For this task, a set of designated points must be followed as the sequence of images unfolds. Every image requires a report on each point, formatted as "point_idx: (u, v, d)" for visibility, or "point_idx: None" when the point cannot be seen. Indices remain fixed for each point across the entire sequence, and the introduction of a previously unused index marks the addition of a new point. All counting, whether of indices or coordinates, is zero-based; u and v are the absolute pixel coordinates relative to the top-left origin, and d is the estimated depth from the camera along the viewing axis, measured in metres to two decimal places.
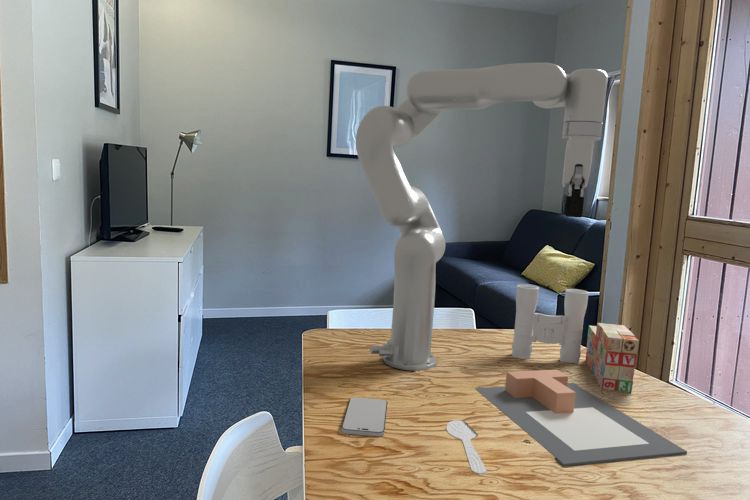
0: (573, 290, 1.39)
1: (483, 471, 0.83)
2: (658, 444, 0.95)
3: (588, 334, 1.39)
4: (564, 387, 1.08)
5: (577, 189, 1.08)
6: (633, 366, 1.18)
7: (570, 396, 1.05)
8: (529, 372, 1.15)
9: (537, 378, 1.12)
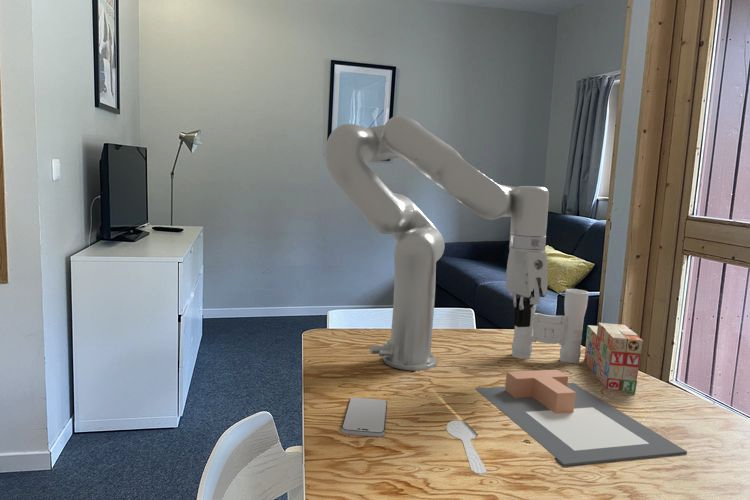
0: (573, 290, 1.39)
1: (483, 471, 0.83)
2: (658, 444, 0.95)
3: (587, 334, 1.39)
4: (564, 387, 1.08)
5: None
6: (637, 366, 1.18)
7: (570, 396, 1.05)
8: (529, 372, 1.15)
9: (537, 378, 1.12)
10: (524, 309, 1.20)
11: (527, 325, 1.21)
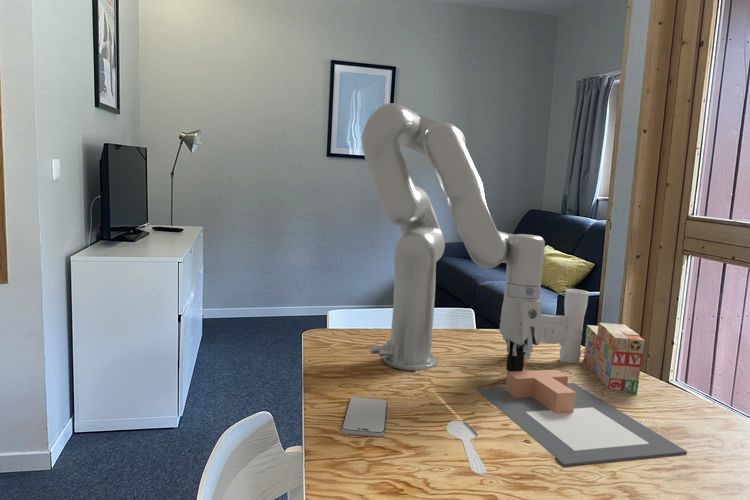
0: (573, 290, 1.39)
1: (483, 471, 0.83)
2: (658, 444, 0.95)
3: (586, 334, 1.39)
4: (564, 387, 1.08)
5: None
6: (639, 366, 1.18)
7: (570, 396, 1.05)
8: (529, 372, 1.15)
9: (537, 378, 1.12)
10: (517, 356, 1.21)
11: None
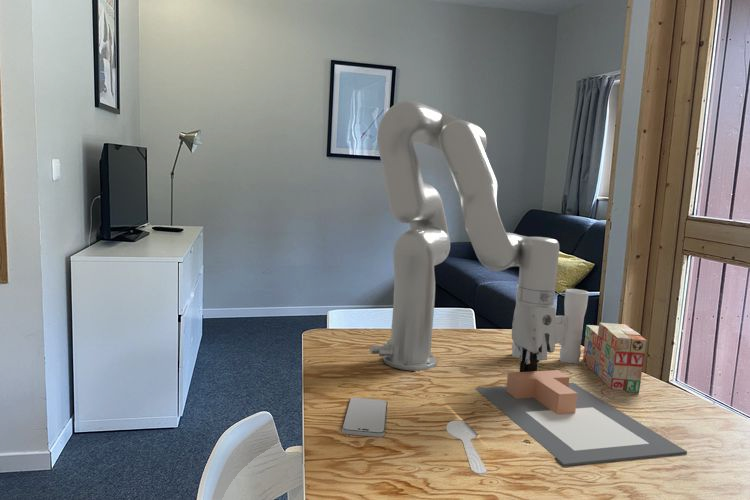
0: (573, 290, 1.39)
1: (483, 471, 0.83)
2: (658, 444, 0.95)
3: (586, 333, 1.39)
4: (566, 388, 1.07)
5: None
6: (641, 365, 1.19)
7: (572, 397, 1.05)
8: (530, 373, 1.15)
9: (538, 379, 1.11)
10: (530, 363, 1.16)
11: None
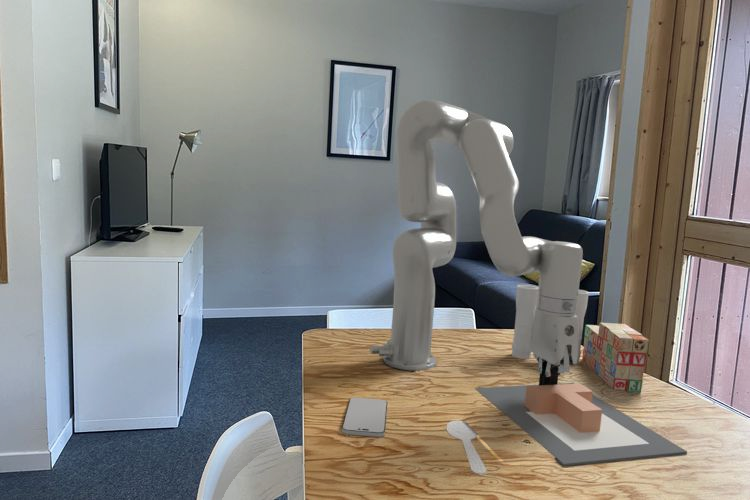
0: None
1: (483, 471, 0.83)
2: (658, 444, 0.95)
3: (585, 333, 1.39)
4: (589, 404, 1.00)
5: None
6: (643, 365, 1.19)
7: (596, 414, 0.98)
8: (550, 386, 1.08)
9: (559, 393, 1.04)
10: (551, 376, 1.09)
11: None
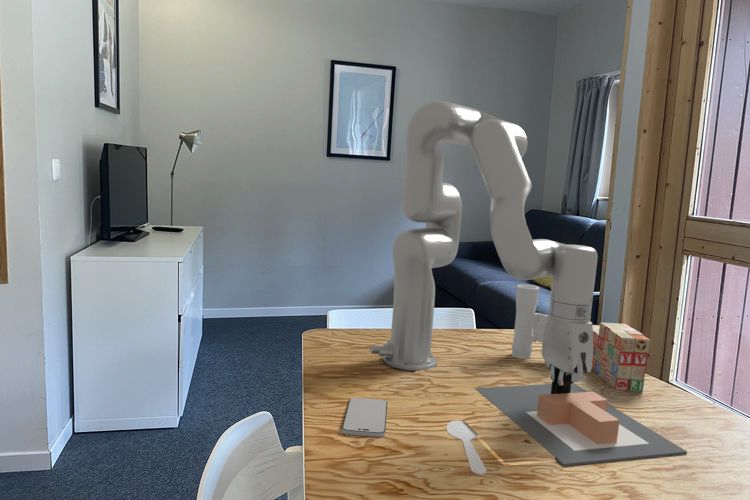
0: None
1: (483, 471, 0.83)
2: (658, 444, 0.95)
3: None
4: (605, 414, 0.96)
5: None
6: (645, 365, 1.19)
7: (613, 424, 0.94)
8: (563, 395, 1.03)
9: (573, 402, 1.00)
10: (564, 385, 1.05)
11: None
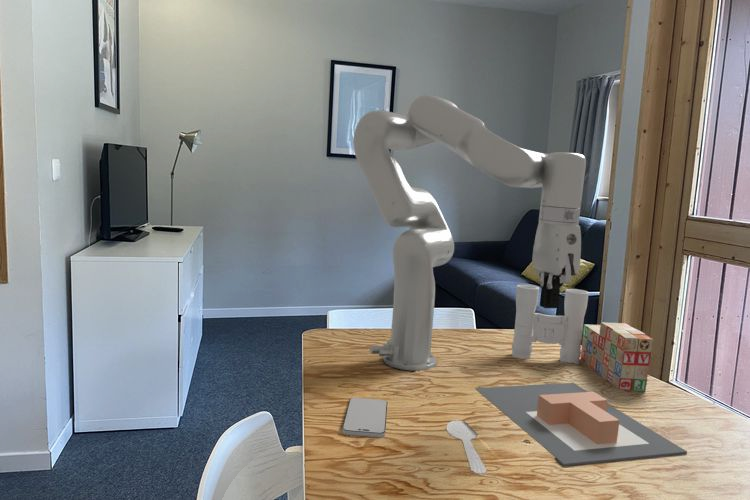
0: (573, 290, 1.39)
1: (483, 471, 0.83)
2: (658, 444, 0.95)
3: (583, 333, 1.40)
4: (605, 414, 0.96)
5: None
6: (647, 364, 1.20)
7: (613, 424, 0.94)
8: (563, 395, 1.03)
9: (573, 402, 1.00)
10: (552, 288, 1.09)
11: (555, 306, 1.11)
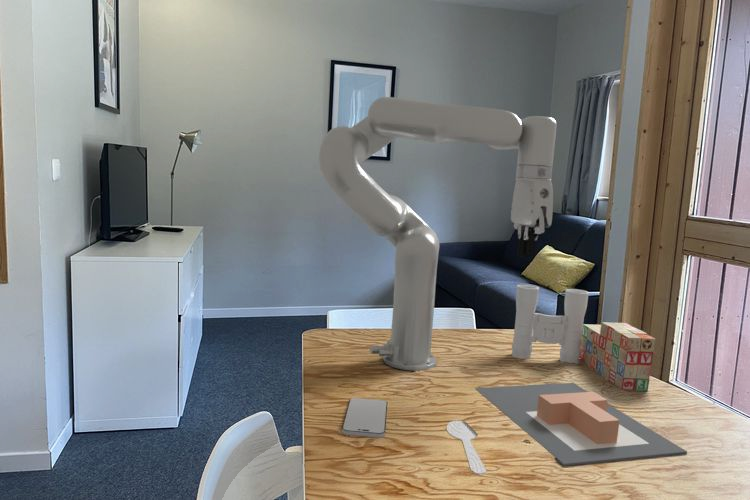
0: (573, 290, 1.39)
1: (483, 471, 0.83)
2: (658, 444, 0.95)
3: (582, 333, 1.40)
4: (605, 414, 0.96)
5: None
6: (650, 364, 1.20)
7: (613, 424, 0.94)
8: (563, 395, 1.03)
9: (573, 402, 1.00)
10: (528, 239, 1.21)
11: (531, 256, 1.23)
